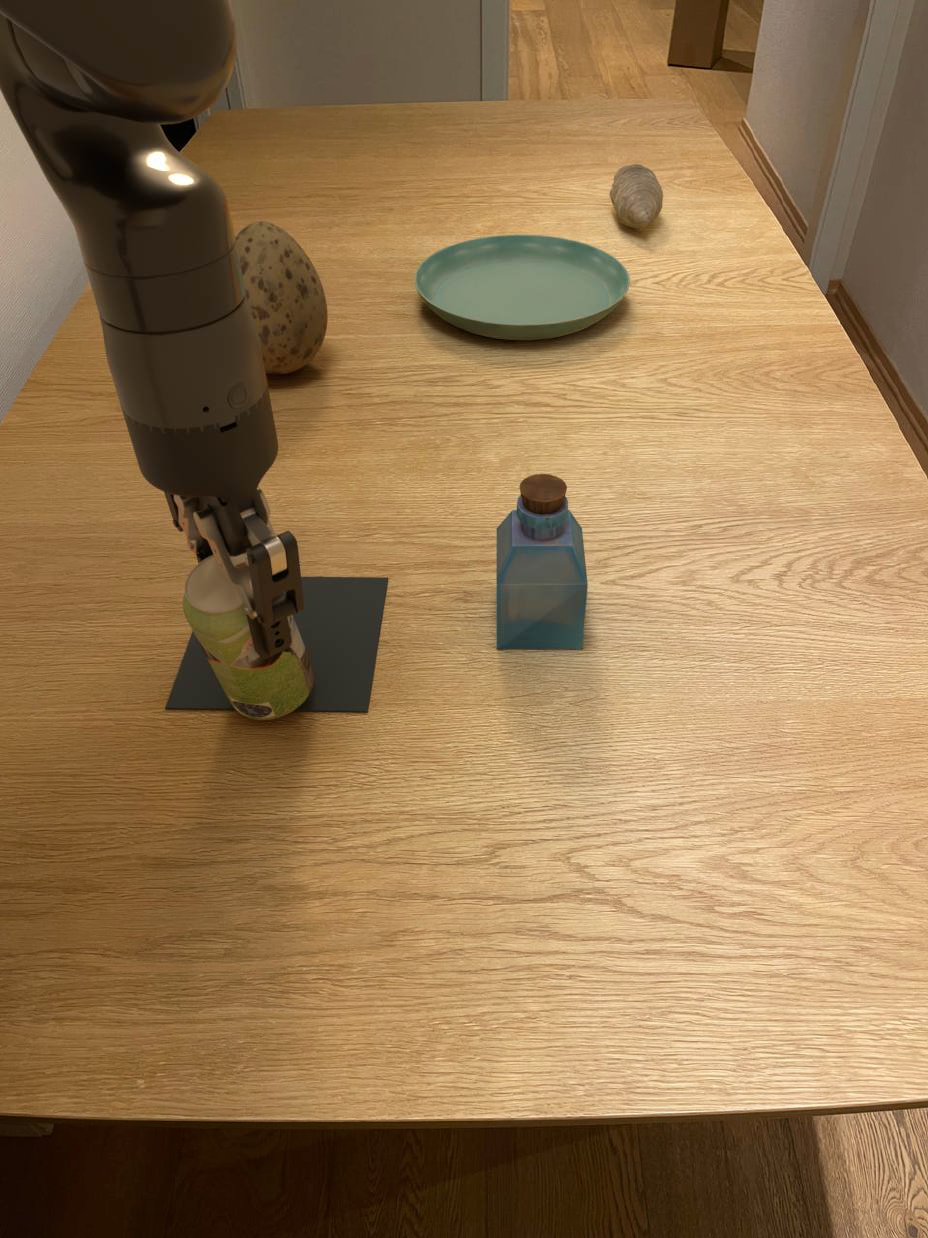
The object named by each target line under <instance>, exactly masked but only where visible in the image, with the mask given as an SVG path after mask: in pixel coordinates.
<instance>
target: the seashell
mask: <svg viewBox="0 0 928 1238" xmlns="http://www.w3.org/2000/svg"><path fill="white" fill-rule="evenodd" d="M608 195H609V198H610V201H611V204H612V206H613V207H614V210H615V212H616V214H617V216H618V218H619V220H620V222H621V223H622V224H623V225H625V226H626V227H629V228H632V229H643V228H645V227H648V226H649V225H651V224H653V223H654V222H655V221H656V219H657V218H658V217H659V215H660V214H661V211H662V209H663V203H664V202H663V201H664V192H663V187H662V186H661V184H660V182H659V180H658V178H657V176H656V174H655V172H654V171H653V170H651V169H650V168H648V167H646V166H645V165H642V164H638V163H632V164H629V165H628V164H627V165H623V166H621V167H620V168H619V169H618V170H616V172H615V174H614V176H613V182H612V184H611V188H610V191H609V194H608Z"/></svg>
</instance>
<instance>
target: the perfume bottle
mask: <svg viewBox="0 0 928 1238" xmlns="http://www.w3.org/2000/svg"><path fill="white" fill-rule="evenodd" d="M518 489H519V493H520V495H519V496H518V497H517V501H516V509H511V511H510V512H509V513H508V514H507V515H506V516H505V518H504V519H503V520H502V521H501V522H500V524H499V525H498V526H497V527H496V586H495V587H496V588H495V589H496V593H495V595H496V596H495V597H496V650H583V648H584V647H583V645H584V633H585V621H586V611H587V600H588V599H587V598H588V588H589V587H588V586H589V582H588V574H587V564H586V563H587V562H586V553H585V545H584V544H585V543H584V535H583V528H582V526H581V525H580V523H579V521H578V520H577V519H576V517H575V516H574V515H573V512H571V510H570V509H569V501H568V497H567V496H566V495H567V491H568V486H567V483H566V482H565V481H564V480H563V479H562V478H561V477H558V476H557V475H553V474H549V473H536V474H532V475H529V476H527V477H525V478H523V480H521V482H520V483H519V487H518Z"/></svg>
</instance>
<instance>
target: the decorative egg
mask: <svg viewBox="0 0 928 1238" xmlns="http://www.w3.org/2000/svg"><path fill="white" fill-rule="evenodd" d="M235 237H236V243H237V248H238V254H239V259H240V264H241V270H242V275H243V281H244V286H245V292H246V296H247V300H248V304H249V307H250V310H251V313H252V316H253V319H254V322H255V325H256V328H257V332H258V336H259V340H260V345H261V351H262V356H263V362H264V368H265V373H266V374H269V375H287V374H291V373H294V372H297V371H298V370H300V369H302V368H304V367H305V366H306V365H308V364H310V362H311V361H313V359H314V357H315V356H316V355H317V354H318V353H319V351H320V349H321V347H322V346H323V343H324V340H325V337H326V333H327V329H328V316H329V315H328V304H327V298H326V293H325V290H324V287H323V284H322V281H321V278H320V275H319V273H318V271H317V269H316V268H315V266H314V264H313V263H312V261H311V258H310V257H309V256H308V254H307V253H306V251H305V250H304V248H303V247H302V246H301V245H300V244H299V243H298V242H297V241H296V240H295V238H294V237H293V236H292V235H291V234H289V232H287V231H286V230H284V229H283V228H282V227H280V226H278V225H276V224H274V223H273V222H269V221H264V220H260V221H254V222H251V223H249V224H247V225H246V226H244V227H243V228H242V229H240V230H239V232H238V233H237V234H235Z"/></svg>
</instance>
